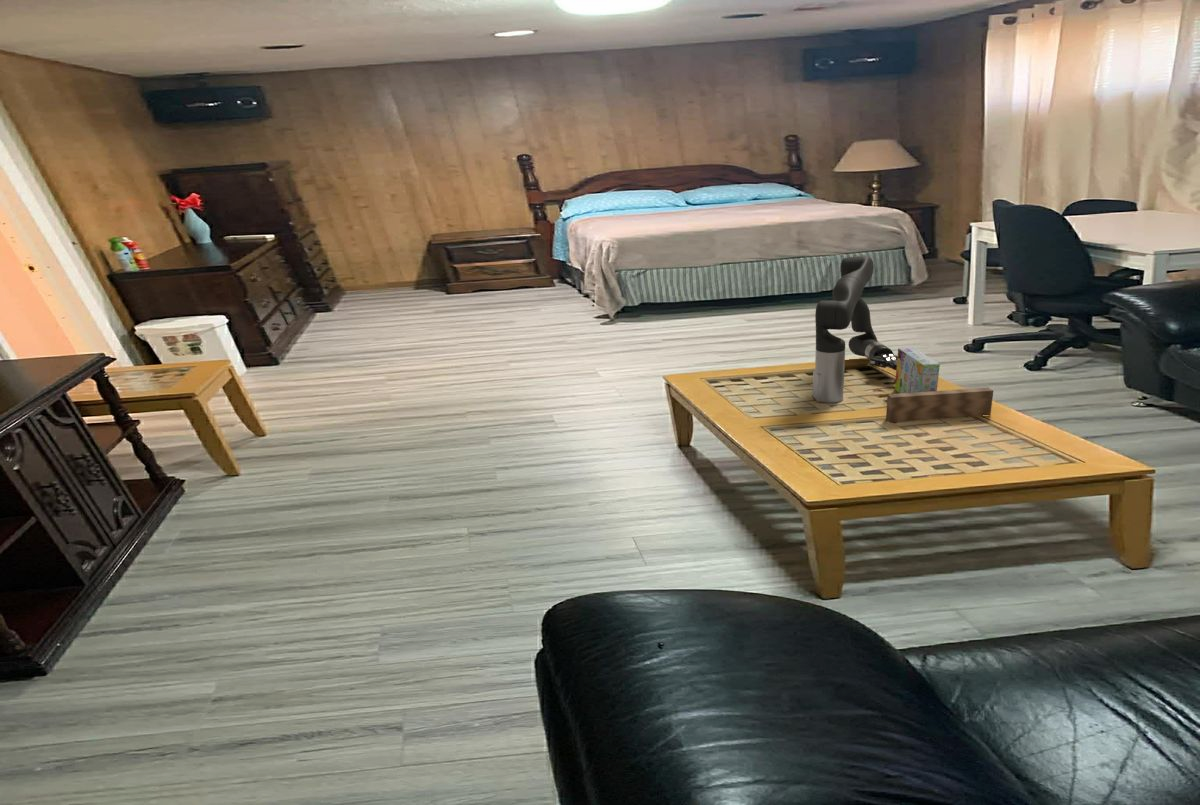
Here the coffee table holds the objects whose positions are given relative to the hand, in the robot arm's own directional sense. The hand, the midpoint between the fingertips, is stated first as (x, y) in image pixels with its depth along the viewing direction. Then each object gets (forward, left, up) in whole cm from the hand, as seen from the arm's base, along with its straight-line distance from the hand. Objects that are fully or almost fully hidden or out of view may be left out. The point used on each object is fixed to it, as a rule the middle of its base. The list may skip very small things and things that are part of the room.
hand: (897, 367), depth 236 cm
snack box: (0, -15, -7) cm, 16 cm away
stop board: (0, -32, -7) cm, 32 cm away
